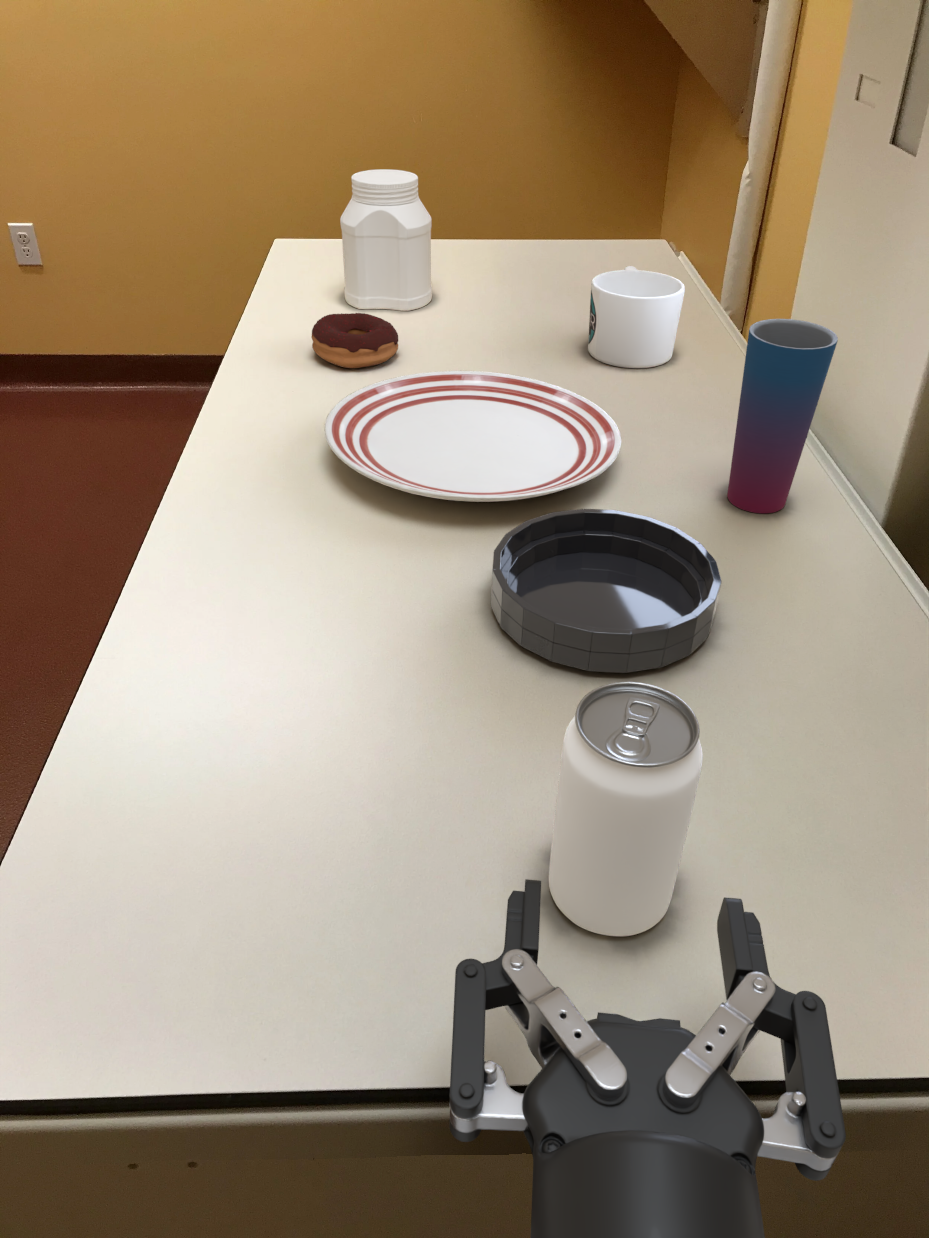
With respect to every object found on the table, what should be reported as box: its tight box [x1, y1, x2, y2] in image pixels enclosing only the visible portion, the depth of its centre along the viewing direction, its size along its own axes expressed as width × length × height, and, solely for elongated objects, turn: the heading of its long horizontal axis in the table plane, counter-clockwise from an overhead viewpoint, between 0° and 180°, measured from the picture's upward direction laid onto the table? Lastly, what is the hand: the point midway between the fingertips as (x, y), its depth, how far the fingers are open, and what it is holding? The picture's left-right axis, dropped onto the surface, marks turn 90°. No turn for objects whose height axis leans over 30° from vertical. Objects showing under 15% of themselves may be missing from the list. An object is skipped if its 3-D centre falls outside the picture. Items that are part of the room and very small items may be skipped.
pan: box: [490, 508, 723, 674], centre depth 70 cm, size 16×16×4 cm
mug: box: [587, 265, 686, 369], centre depth 111 cm, size 13×10×8 cm
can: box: [548, 681, 704, 937], centre depth 47 cm, size 6×6×12 cm
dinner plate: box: [324, 370, 622, 503], centre depth 90 cm, size 27×27×3 cm
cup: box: [726, 318, 839, 514], centre depth 80 cm, size 7×7×15 cm
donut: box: [311, 312, 399, 369], centre depth 109 cm, size 10×10×4 cm
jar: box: [339, 168, 433, 312], centre depth 123 cm, size 12×10×15 cm
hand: (629, 899), depth 42 cm, fingers open, 8 cm apart
